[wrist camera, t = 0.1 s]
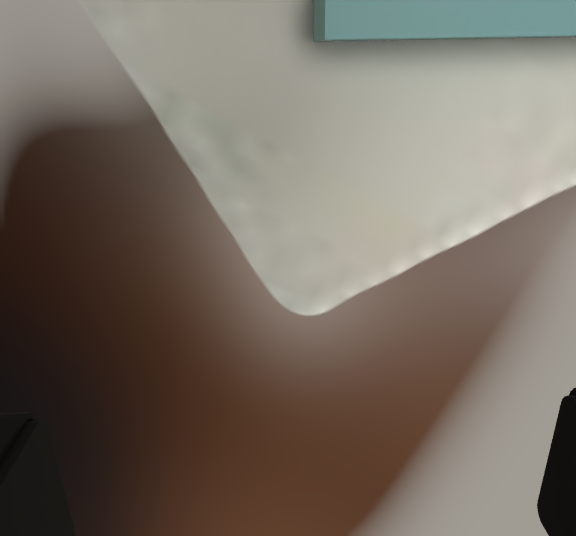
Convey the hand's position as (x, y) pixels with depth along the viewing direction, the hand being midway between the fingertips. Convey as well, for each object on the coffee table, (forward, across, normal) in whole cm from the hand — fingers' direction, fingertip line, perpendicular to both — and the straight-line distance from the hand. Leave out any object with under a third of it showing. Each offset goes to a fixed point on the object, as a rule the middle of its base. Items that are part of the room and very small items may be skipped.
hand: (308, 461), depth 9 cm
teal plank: (+31, -13, -9) cm, 35 cm away
